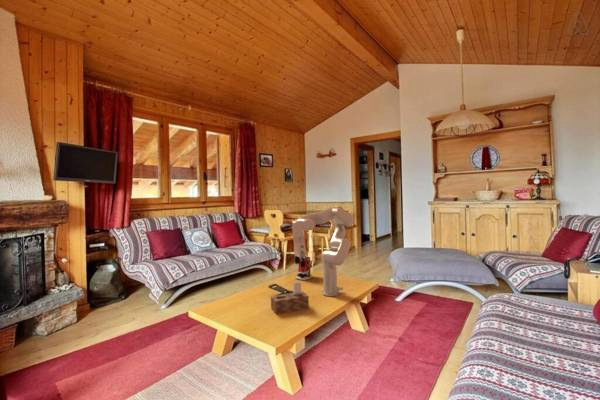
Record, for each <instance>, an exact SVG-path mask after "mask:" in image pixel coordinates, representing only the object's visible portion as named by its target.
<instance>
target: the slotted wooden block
mask: <svg viewBox="0 0 600 400" xmlns="http://www.w3.org/2000/svg"><path fill="white" fill-rule="evenodd" d="M309 298H310V297H309V295H308V294H307V293H305V292H304V291H302V290H301V295H299V296H294V293H288V294H282V295H280V294H277V295H271V296H270V309H271V310H272V312H273V313H274V315H279V314H285V313H289V312H297V311H302V310H307V309H309V308H310V306H309V302H310V301H309Z"/></svg>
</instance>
